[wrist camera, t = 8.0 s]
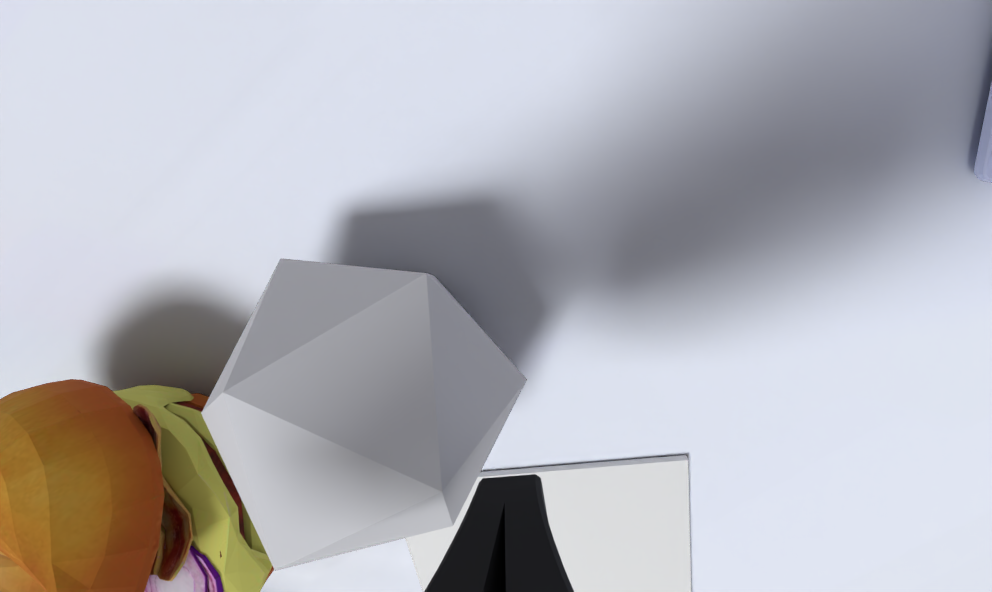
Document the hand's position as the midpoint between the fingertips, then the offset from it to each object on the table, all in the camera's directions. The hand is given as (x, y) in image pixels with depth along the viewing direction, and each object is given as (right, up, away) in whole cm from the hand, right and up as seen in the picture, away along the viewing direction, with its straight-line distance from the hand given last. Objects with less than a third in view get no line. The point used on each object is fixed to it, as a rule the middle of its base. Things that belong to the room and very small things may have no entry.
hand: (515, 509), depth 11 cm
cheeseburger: (-13, -4, +11) cm, 17 cm away
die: (-2, +6, +1) cm, 6 cm away
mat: (+2, -8, +12) cm, 14 cm away
